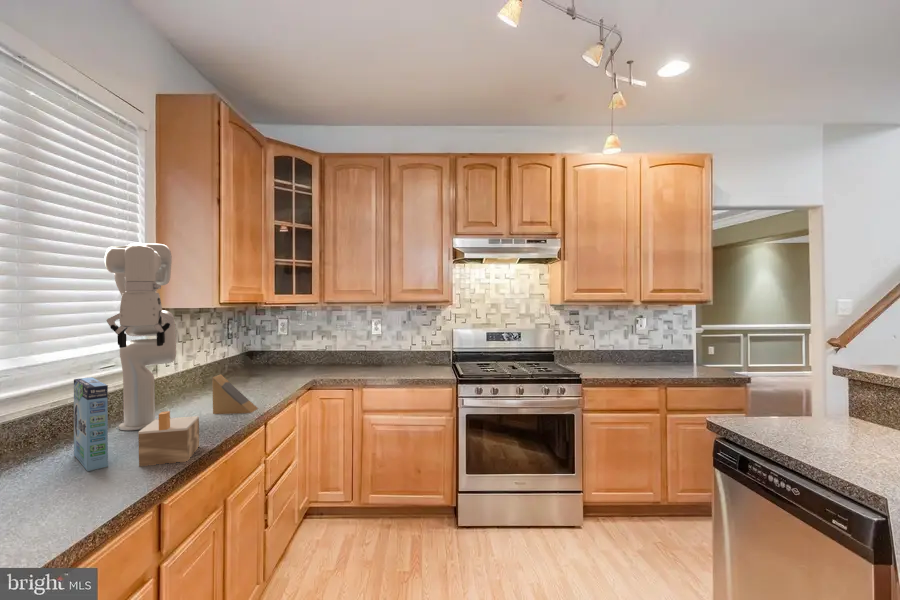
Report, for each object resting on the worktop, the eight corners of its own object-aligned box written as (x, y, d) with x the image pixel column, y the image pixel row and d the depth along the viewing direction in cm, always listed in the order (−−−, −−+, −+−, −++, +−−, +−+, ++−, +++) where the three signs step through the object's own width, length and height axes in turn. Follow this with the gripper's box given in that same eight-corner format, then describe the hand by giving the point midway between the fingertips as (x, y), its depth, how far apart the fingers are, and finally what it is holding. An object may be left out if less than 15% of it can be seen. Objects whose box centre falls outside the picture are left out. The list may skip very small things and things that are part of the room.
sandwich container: (252, 413, 189) (251, 376, 189) (212, 414, 187) (211, 377, 187) (258, 408, 197) (258, 372, 197) (221, 409, 196) (220, 373, 196)
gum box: (73, 456, 139) (72, 379, 139) (95, 451, 143) (93, 376, 143) (86, 472, 126) (85, 387, 126) (109, 467, 130) (108, 384, 129)
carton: (155, 450, 143) (155, 421, 143) (199, 446, 146) (198, 417, 146) (139, 466, 130) (138, 434, 130) (187, 461, 133) (186, 430, 133)
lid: (155, 421, 143) (155, 404, 143) (198, 417, 146) (198, 401, 146) (138, 434, 130) (138, 415, 130) (186, 430, 133) (186, 412, 133)
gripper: (177, 288, 144) (178, 344, 143) (112, 289, 139) (113, 347, 139) (169, 287, 137) (170, 346, 136) (100, 288, 132) (101, 349, 132)
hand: (141, 346), depth 138 cm, fingers open, 9 cm apart
